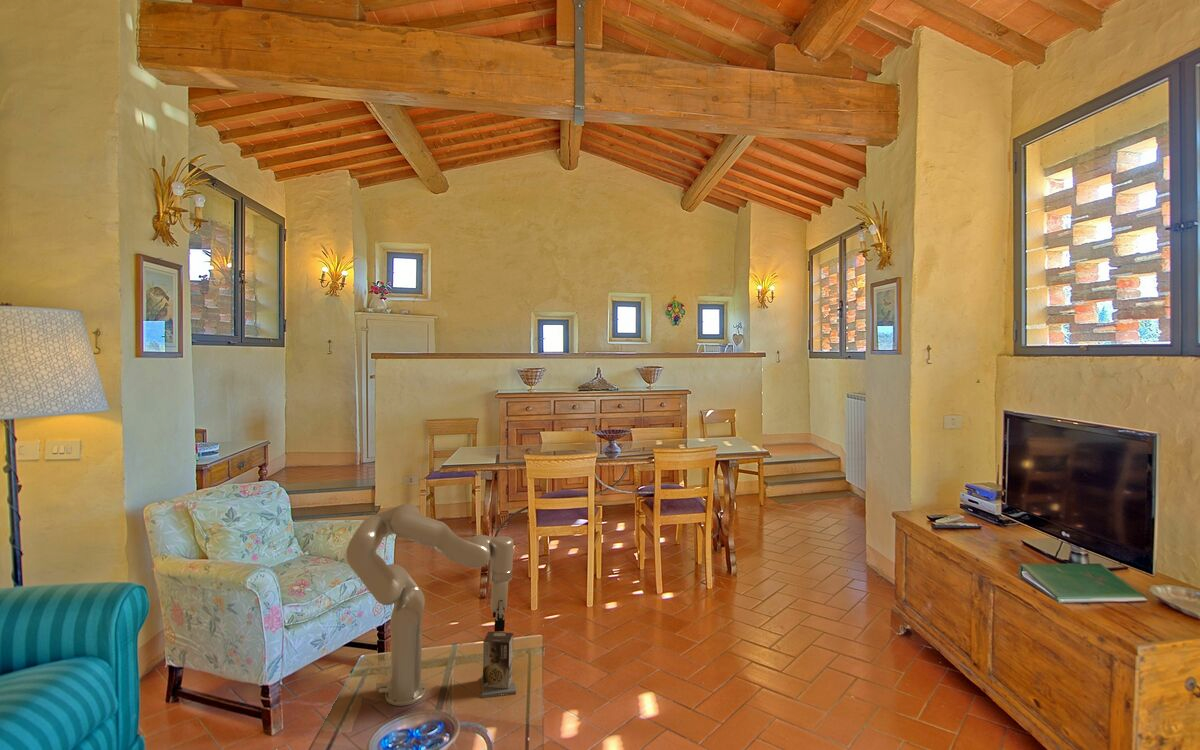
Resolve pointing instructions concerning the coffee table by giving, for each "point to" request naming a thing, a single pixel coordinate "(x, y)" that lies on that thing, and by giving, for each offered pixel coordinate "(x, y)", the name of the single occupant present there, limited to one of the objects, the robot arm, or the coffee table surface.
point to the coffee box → (497, 659)
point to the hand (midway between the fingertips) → (498, 623)
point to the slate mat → (497, 690)
